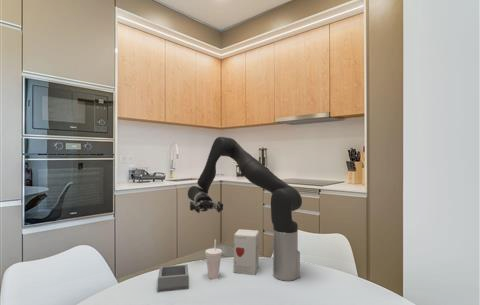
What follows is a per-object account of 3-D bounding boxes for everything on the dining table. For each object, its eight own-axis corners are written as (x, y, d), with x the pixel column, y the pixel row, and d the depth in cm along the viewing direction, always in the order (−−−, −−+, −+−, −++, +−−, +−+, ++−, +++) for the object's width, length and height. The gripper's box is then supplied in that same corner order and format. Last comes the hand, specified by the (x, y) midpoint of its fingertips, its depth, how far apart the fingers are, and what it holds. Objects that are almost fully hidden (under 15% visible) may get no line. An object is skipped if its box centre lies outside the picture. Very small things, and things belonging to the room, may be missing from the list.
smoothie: (219, 281, 94) (219, 242, 95) (202, 279, 95) (202, 241, 96) (223, 274, 100) (224, 237, 101) (207, 272, 101) (208, 236, 102)
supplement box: (232, 273, 101) (233, 234, 102) (238, 264, 110) (238, 228, 111) (255, 275, 99) (256, 235, 100) (259, 266, 108) (259, 230, 109)
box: (187, 276, 98) (187, 264, 98) (188, 288, 88) (188, 275, 88) (159, 279, 95) (159, 266, 96) (157, 292, 86) (158, 278, 86)
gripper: (188, 193, 120) (192, 201, 105) (218, 193, 125) (226, 201, 109) (187, 209, 121) (191, 219, 105) (217, 208, 125) (225, 218, 110)
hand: (209, 210), depth 107 cm, fingers open, 8 cm apart
